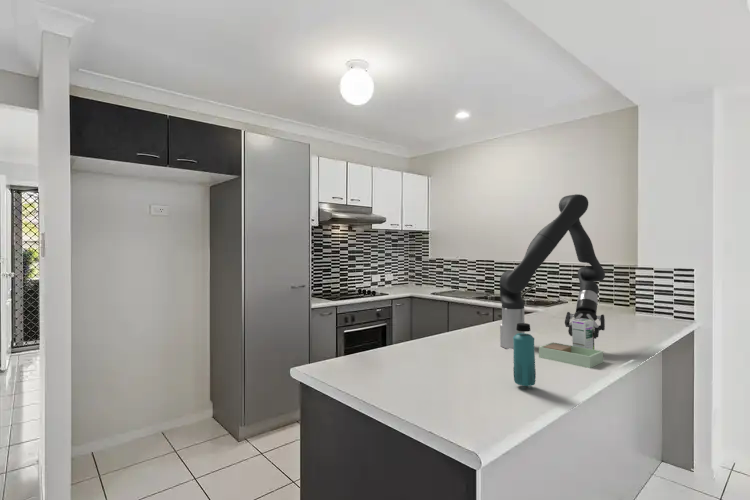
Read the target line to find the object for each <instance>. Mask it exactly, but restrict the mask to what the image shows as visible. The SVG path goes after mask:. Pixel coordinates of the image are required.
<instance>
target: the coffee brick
mask: <svg viewBox="0 0 750 500" xmlns="http://www.w3.org/2000/svg"><path fill="white" fill-rule="evenodd" d="M559 344H560V343H559ZM559 344H551V345H548V346H545V347H544V348H549V349H554V350H559V351H565V352H570V353H571V347H570V346H565V345H566V344H565V345H559Z"/></svg>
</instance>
